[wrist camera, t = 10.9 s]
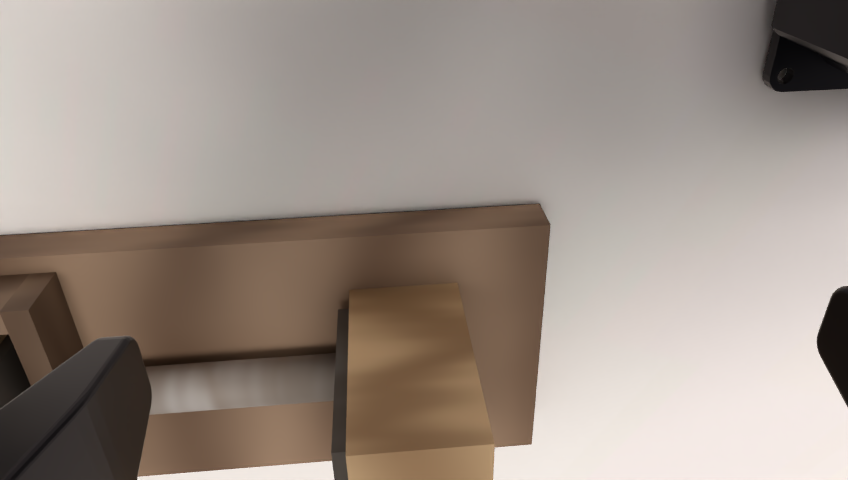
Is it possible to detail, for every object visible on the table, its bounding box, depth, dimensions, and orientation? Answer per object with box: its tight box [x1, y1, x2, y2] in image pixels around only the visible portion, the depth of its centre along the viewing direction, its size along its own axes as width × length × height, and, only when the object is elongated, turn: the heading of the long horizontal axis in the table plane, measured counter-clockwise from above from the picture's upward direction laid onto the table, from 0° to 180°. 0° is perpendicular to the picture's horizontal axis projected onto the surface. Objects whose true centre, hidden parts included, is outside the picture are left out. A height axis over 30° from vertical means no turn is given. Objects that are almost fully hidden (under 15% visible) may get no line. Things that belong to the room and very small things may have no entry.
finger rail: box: [0, 204, 550, 480], centre depth 21 cm, size 24×10×8 cm, turn 91°
